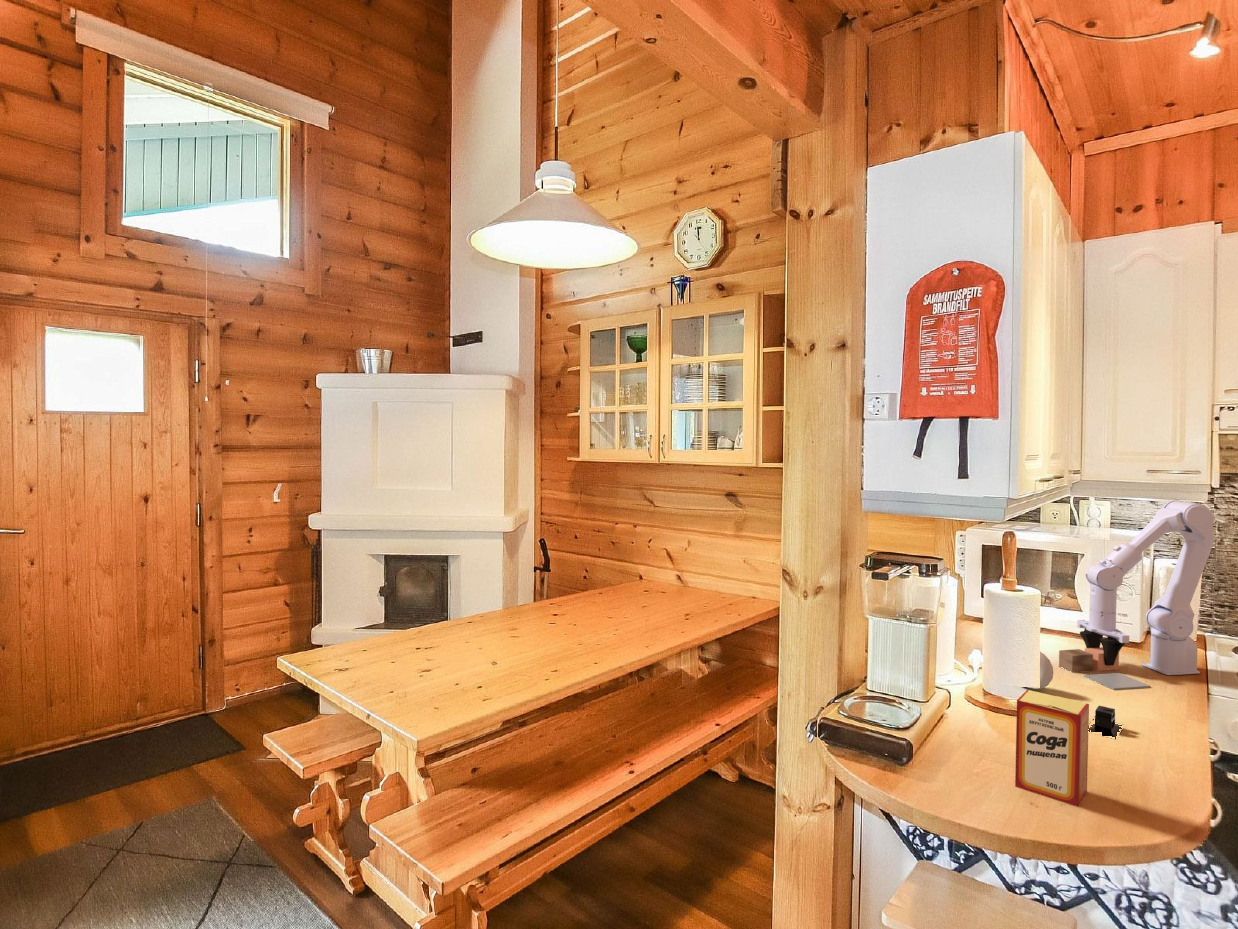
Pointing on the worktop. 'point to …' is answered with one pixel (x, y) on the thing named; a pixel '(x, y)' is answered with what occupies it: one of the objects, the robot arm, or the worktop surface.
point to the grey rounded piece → (1045, 671)
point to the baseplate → (1117, 681)
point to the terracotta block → (1101, 659)
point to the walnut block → (1076, 660)
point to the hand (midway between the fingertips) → (1101, 662)
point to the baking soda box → (1052, 746)
